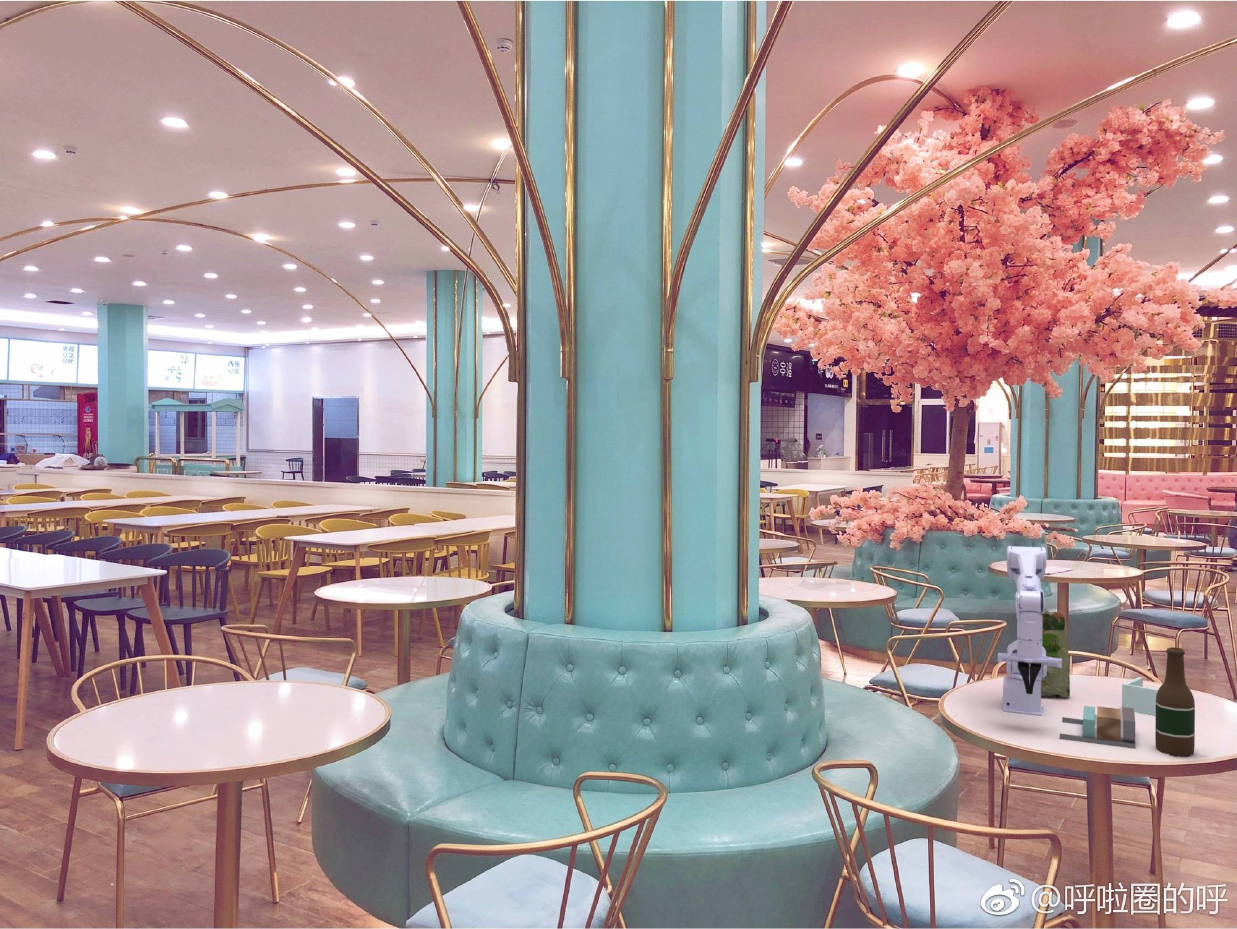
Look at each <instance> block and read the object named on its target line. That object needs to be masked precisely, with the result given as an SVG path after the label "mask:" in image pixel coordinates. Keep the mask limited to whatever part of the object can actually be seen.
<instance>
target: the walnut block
mask: <svg viewBox="0 0 1237 929" xmlns="http://www.w3.org/2000/svg"><path fill="white" fill-rule="evenodd" d="M1096 709H1097V711H1096V715H1097V738H1099V739H1107V740H1115V741H1121V715H1120V709H1121V708H1115V707H1106V706H1098V705H1097V708H1096Z"/></svg>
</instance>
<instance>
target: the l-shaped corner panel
mask: <svg viewBox="0 0 1237 929" xmlns="http://www.w3.org/2000/svg"><path fill="white" fill-rule="evenodd" d="M1143 680H1144V678H1143V677H1139V676H1138V677H1135V678H1133V679H1131V680H1128V681H1127V682H1124V683H1122V684H1121V708H1122V707H1127V708H1134V713H1135V712H1137V714H1140V715H1146V714H1147V716H1151V715H1152V717H1156V694H1157V692H1158V690H1159V689H1156V688H1150V687H1145V686H1144V685H1143V684H1144V683H1143V682H1144V681H1143Z"/></svg>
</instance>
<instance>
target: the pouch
mask: <svg viewBox="0 0 1237 929" xmlns="http://www.w3.org/2000/svg"><path fill="white" fill-rule="evenodd" d="M1040 613H1041V614H1042V646H1043V647H1044V648H1045V650H1046V656H1047V657H1053V658H1061V659H1062V668H1058V667H1053V666H1047V675H1046V676H1045V678H1042V680H1041V697H1059V698H1060V697H1061V698H1070V697H1071V685H1070V684H1071V682H1070V681H1071V678H1070V677H1071V676H1070V671H1071V670H1070V653H1069V649H1068V644H1069V631H1068V625H1067V620H1066V619H1067V616H1066V615H1065V613H1062V612H1058V611H1049V610H1046V608H1045V609H1044V614H1043V613H1042V612H1041V611H1040Z"/></svg>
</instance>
